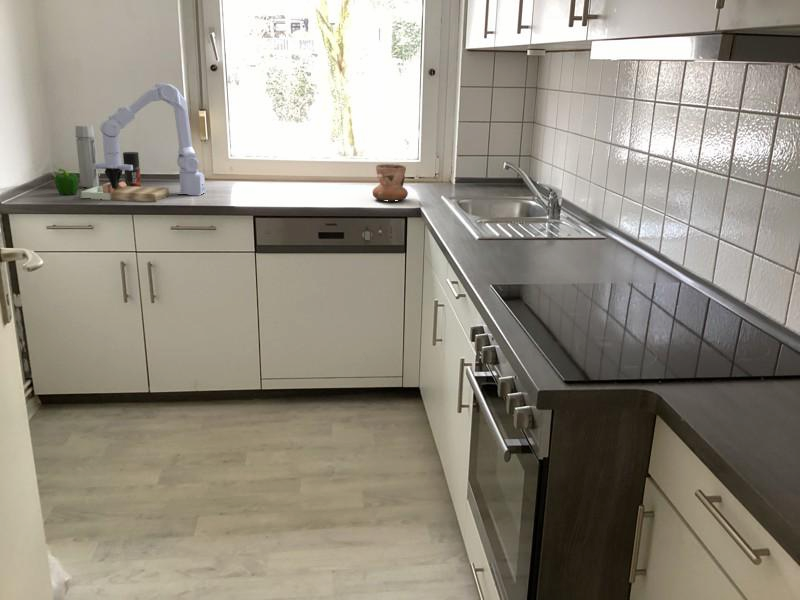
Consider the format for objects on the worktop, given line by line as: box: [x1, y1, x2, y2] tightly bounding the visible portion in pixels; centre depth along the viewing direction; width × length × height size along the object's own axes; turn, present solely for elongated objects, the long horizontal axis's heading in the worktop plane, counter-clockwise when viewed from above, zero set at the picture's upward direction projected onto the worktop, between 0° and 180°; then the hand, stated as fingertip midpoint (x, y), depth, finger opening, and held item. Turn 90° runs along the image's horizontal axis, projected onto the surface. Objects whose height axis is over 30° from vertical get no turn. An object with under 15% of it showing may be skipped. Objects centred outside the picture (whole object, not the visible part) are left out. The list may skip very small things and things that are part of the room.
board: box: [111, 186, 170, 203], centre depth 278 cm, size 17×14×3 cm
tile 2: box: [101, 182, 114, 197], centre depth 275 cm, size 5×5×2 cm
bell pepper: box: [54, 168, 80, 196], centre depth 278 cm, size 8×8×10 cm
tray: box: [79, 185, 112, 201], centre depth 279 cm, size 12×15×2 cm
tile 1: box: [114, 180, 127, 191], centre depth 281 cm, size 5×5×2 cm
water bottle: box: [74, 124, 101, 189], centre depth 293 cm, size 9×8×25 cm
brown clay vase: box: [372, 163, 409, 201], centre depth 291 cm, size 18×14×14 cm
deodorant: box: [122, 151, 142, 187], centre depth 293 cm, size 6×6×15 cm
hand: (115, 188), depth 274 cm, fingers closed
